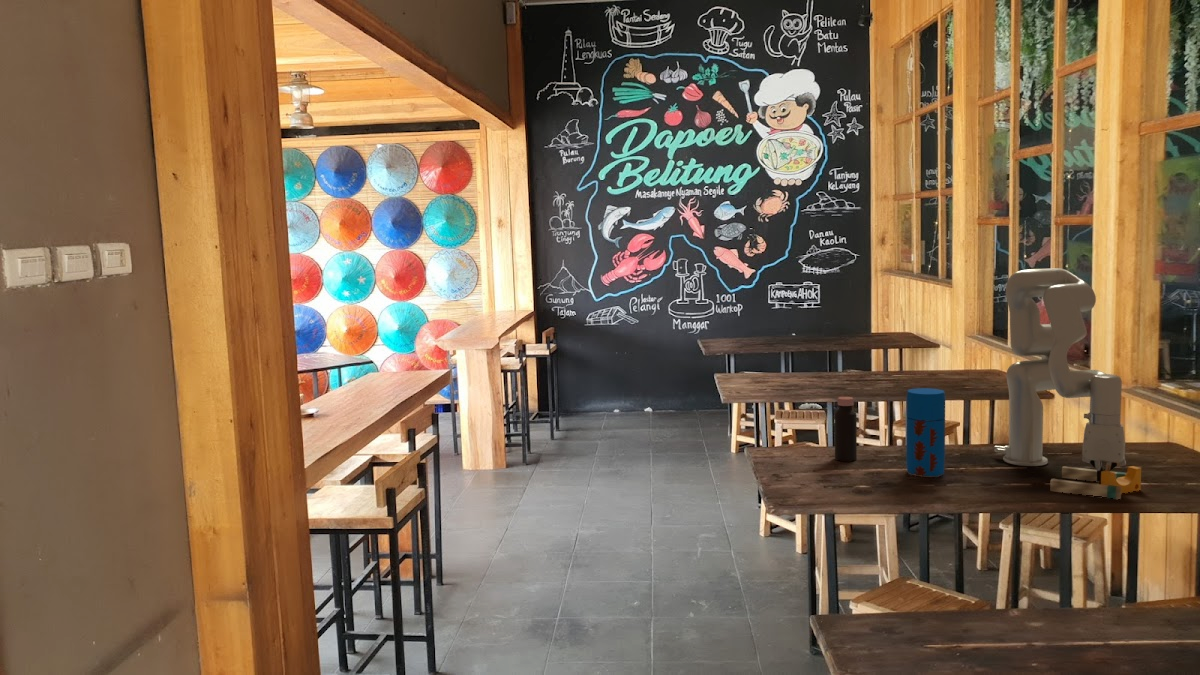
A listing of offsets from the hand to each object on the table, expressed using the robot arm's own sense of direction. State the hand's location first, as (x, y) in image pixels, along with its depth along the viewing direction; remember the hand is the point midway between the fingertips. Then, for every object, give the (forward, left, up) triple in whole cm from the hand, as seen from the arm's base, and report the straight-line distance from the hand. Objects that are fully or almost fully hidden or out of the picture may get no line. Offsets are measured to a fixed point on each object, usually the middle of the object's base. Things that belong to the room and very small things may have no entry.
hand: (1103, 484), depth 261 cm
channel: (-3, 0, -1) cm, 3 cm away
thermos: (-47, -7, -2) cm, 47 cm away
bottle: (-74, -2, -2) cm, 74 cm away
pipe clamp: (+4, -1, -2) cm, 4 cm away
